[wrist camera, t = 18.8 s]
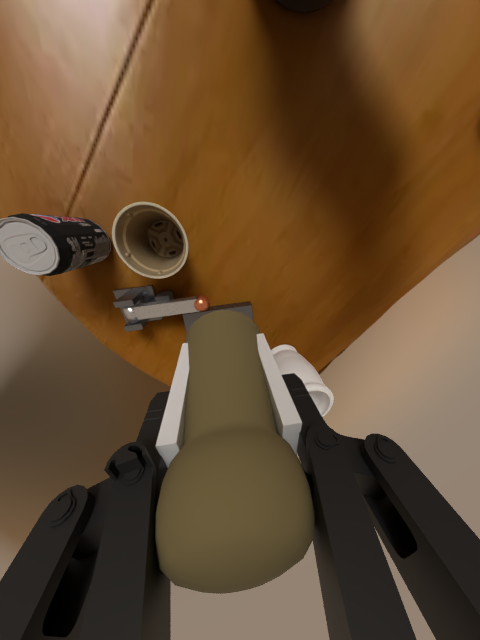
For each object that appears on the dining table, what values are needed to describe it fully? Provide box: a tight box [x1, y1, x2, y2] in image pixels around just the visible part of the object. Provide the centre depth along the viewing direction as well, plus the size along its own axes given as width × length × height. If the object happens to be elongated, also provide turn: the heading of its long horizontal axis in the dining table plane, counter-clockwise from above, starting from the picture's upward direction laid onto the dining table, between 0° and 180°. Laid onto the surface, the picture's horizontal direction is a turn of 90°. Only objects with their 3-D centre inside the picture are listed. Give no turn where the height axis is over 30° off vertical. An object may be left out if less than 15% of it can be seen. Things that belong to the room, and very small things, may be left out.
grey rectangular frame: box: [182, 301, 253, 332], centre depth 42 cm, size 17×14×2 cm
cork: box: [155, 310, 315, 593], centre depth 10 cm, size 6×6×11 cm
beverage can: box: [0, 214, 111, 276], centre depth 25 cm, size 7×7×12 cm
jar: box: [271, 345, 334, 417], centre depth 41 cm, size 11×10×15 cm
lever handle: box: [122, 295, 210, 324], centre depth 33 cm, size 15×3×3 cm, turn 95°
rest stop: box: [155, 290, 174, 317], centre depth 35 cm, size 4×2×3 cm, turn 5°
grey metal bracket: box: [113, 285, 163, 332], centre depth 34 cm, size 7×7×6 cm
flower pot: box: [112, 202, 188, 279], centre depth 28 cm, size 9×9×9 cm
